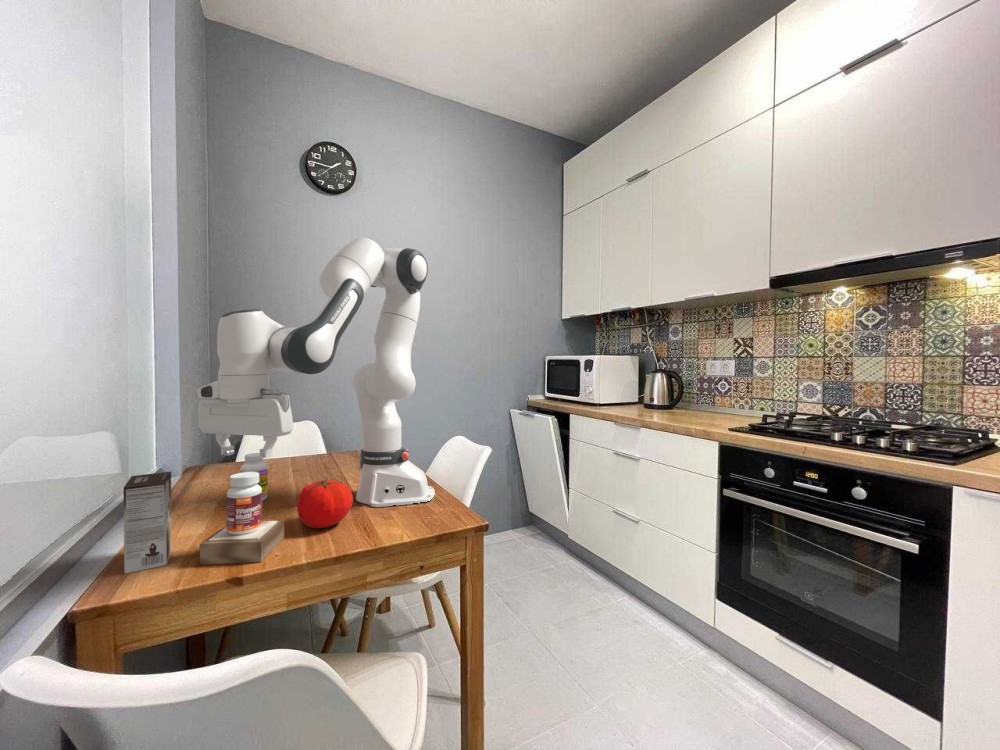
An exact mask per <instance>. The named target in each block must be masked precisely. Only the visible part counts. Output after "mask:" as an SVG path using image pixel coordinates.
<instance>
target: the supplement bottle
mask: <svg viewBox="0 0 1000 750" xmlns="http://www.w3.org/2000/svg"><path fill="white" fill-rule="evenodd" d="M239 470H240V472H239V473H243V472H257V473H259V483H257V485H259V486H260V487H261V488H262V502H263V501H265V500H266V499H267V498H268V492H269V491H268V488H269V487H268V485H269V484H268V483H269V482H268V480H269V478H268V477H269V475H268V474H269V473H268V472H269V471H268V470H269V465H268V464H267V462H266V461H265V462H264V458H261V457H260V452H253V453H247V454H245V455H244V463H243V464H242V465H241V466H240V469H239Z"/></svg>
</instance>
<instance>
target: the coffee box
mask: <svg viewBox="0 0 1000 750" xmlns="http://www.w3.org/2000/svg"><path fill="white" fill-rule="evenodd" d="M172 543H173V542H172V471H163V472H155V473H146V474H138V475H131V476H130V478H128V481H127V482H126V483H125V485H124V486H123V572H124V574H131V573H134V572H139V571H145V570H148V569H153V568H158V567H163V566H166V565H168V562H169V559H170V555H171V552H172V545H173V544H172Z"/></svg>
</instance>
